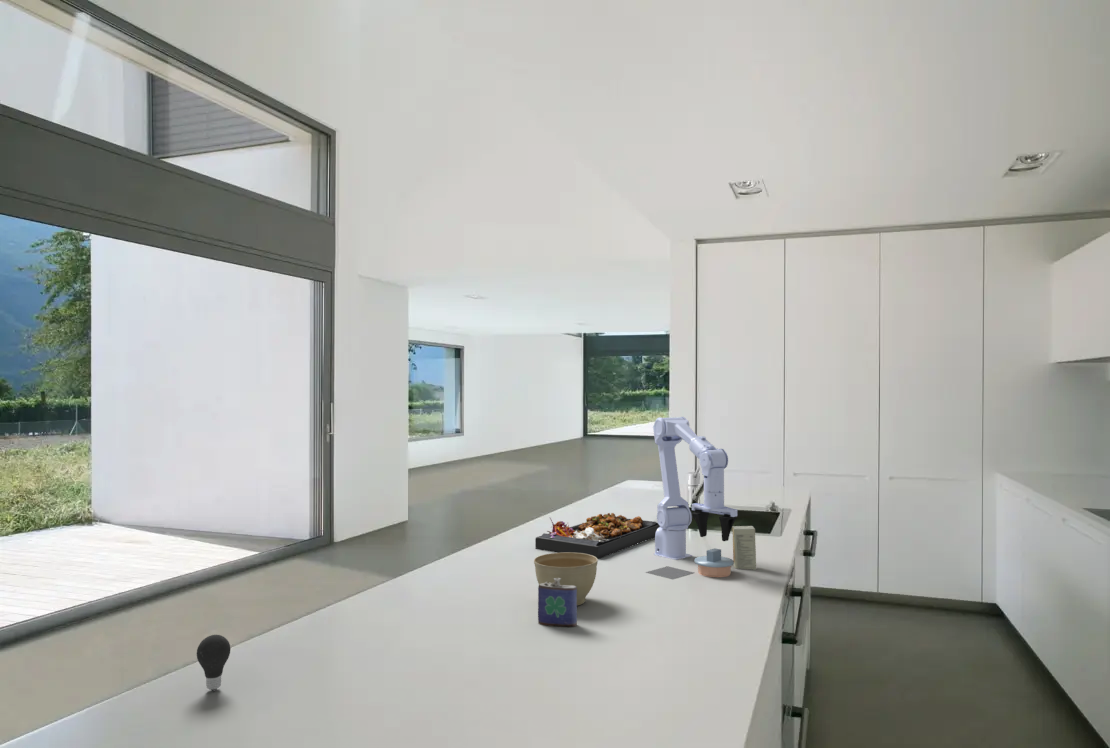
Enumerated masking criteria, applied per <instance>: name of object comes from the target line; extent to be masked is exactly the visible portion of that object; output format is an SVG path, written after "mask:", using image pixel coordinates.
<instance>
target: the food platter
mask: <svg viewBox="0 0 1110 748" xmlns="http://www.w3.org/2000/svg"><path fill="white" fill-rule="evenodd" d="M549 519H550V521H551V523H552V529H551V531H549V530H546V532H548V533H545V532H544V533H543V534H541V535H539V536H537V537H535V539H534V540H535V550H541V551H547V552H552V553H564V552H570V553H584V554H589V555H592V556H595V557H596V558H597V559H598V560H600V559H603V558H604V557H608V556H610V555H612V553H613V554H616V553H617V551H618V552H620V551H619V550H621V551H623V550H625V548H626V549H628V548H631V547H633V546H632V545H634V546H636V545H638V544H637V543H639V544H641V543H640V542H642V541H644V542H646V541H645V540H647V541H649V540H651V539H650V538H652V539H654V538H653V537H655V534H656V531H657V529H658V528H659V527H660V525H659V524H658V522H657V521H651V520H644V519H643V518H642V517H641V516H639V515H638V516H635V517H633V518H627V517H626V516H624V515H622V514H620V515H618V516H616V514H615V513H614V512H611V513H610V512H608V513H607V514H606V513H604V514H602V513H599V514H597V515H594V516H590V517H587V518H586V521H585V522H581V523H580V524H576V525H573V526H570V524H569V522H567V523H566V522H564V521H561V520H560V521H556V522H555V524H554V522H553V520H552V517H549ZM648 539H649V540H648ZM642 543H643V542H642ZM635 544H636V545H635ZM630 546H631V547H630ZM627 547H628V548H627ZM622 549H623V550H622Z"/></svg>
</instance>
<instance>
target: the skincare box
mask: <svg viewBox="0 0 1110 748" xmlns="http://www.w3.org/2000/svg"><path fill="white" fill-rule="evenodd" d="M731 530H732V556H733V557H732V560H733V561H734V564H733V565H732V566H733V568H734V569H735V570H736V569H737V570H754V571H755V570H757V551H756V548H757V547H756V528H755V527H754V526H753V525H741V526H740V525H736V526H735V525H733V526H732V528H731Z"/></svg>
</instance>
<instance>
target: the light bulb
mask: <svg viewBox="0 0 1110 748" xmlns="http://www.w3.org/2000/svg"><path fill="white" fill-rule="evenodd" d="M230 654H231V644H230V641H229V640H228V639H227V638H226V637H225V636H223V635H220V634H212V635H211V634H210V635H208V636H206V637H205V638H203V639H202V640H201V642H200V643H199V644H198V647H197V649H196V659H197V661H198V663H199V665H200V666H201V668H202V669H203V672H204V676H205V678H206V681H205V685H206V689H208V690H210V691H211V692H215V691H217V690H218V689H219V688H220V687H221V686H222V675H223V672H224V667H225V665H226V663H227V662H228V660H229V657H230Z"/></svg>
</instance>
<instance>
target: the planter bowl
mask: <svg viewBox="0 0 1110 748" xmlns="http://www.w3.org/2000/svg"><path fill="white" fill-rule="evenodd" d="M598 562H599V559H597V558H596V557H595V556H592V555H589V554H584V553H570V552H564V553H558V552H552V553H546V554H542V555H538V556H536V557H534V560H533V564H534V569H535V576H536V581H537V583H538V585H539V584H541V583H545V582H547V583H549V582H550V583H553V582H554V581H555V580H554V578H561V580H560V585H573V586H576V587H577V606H581V605H582V604H583V605H584V603H585V602H586V598H587V596H588V595H589V593H590V591H591V590H592V588H593V586H594V583H595V580H596V577H597V569H598V568H597V567H598ZM550 583H549V584H550Z"/></svg>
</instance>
